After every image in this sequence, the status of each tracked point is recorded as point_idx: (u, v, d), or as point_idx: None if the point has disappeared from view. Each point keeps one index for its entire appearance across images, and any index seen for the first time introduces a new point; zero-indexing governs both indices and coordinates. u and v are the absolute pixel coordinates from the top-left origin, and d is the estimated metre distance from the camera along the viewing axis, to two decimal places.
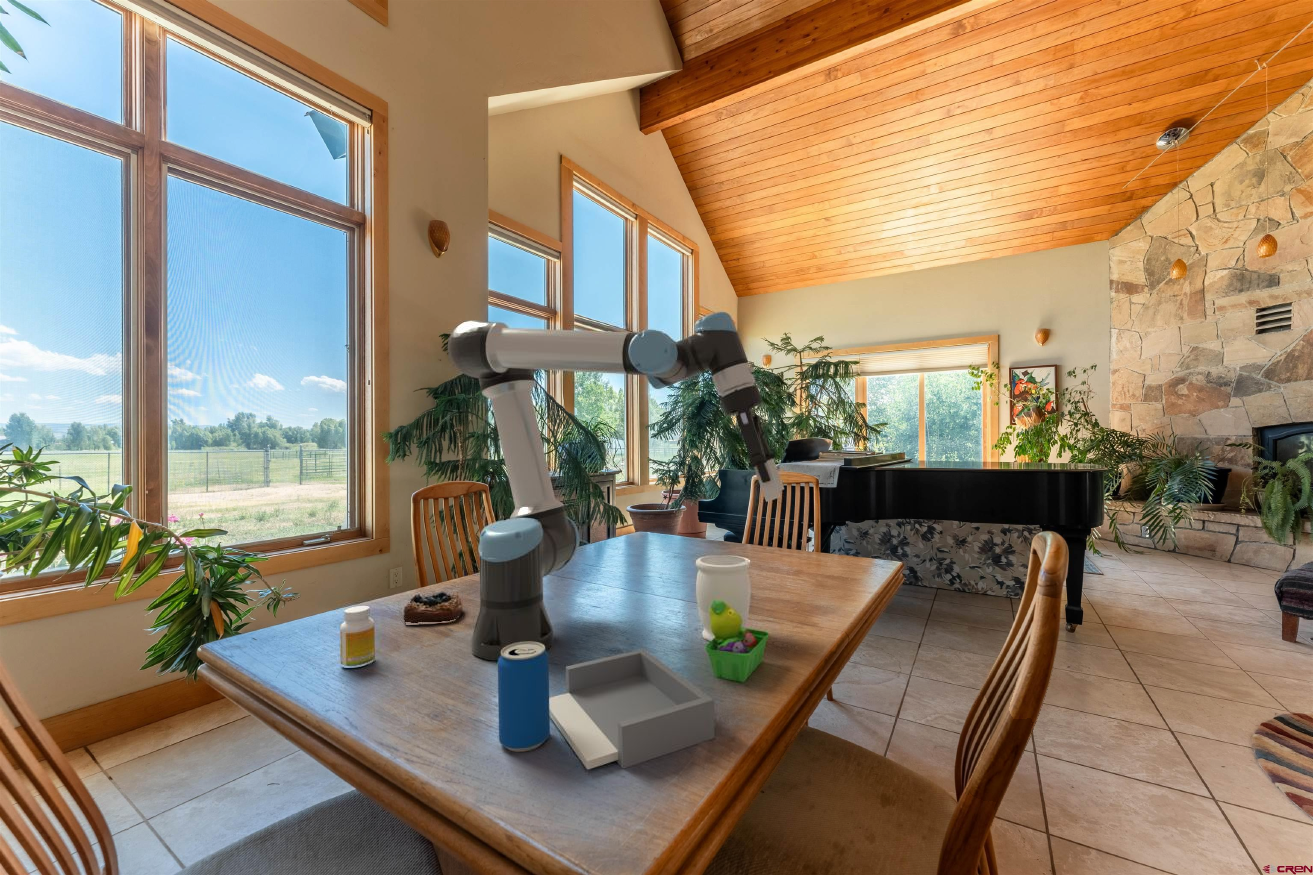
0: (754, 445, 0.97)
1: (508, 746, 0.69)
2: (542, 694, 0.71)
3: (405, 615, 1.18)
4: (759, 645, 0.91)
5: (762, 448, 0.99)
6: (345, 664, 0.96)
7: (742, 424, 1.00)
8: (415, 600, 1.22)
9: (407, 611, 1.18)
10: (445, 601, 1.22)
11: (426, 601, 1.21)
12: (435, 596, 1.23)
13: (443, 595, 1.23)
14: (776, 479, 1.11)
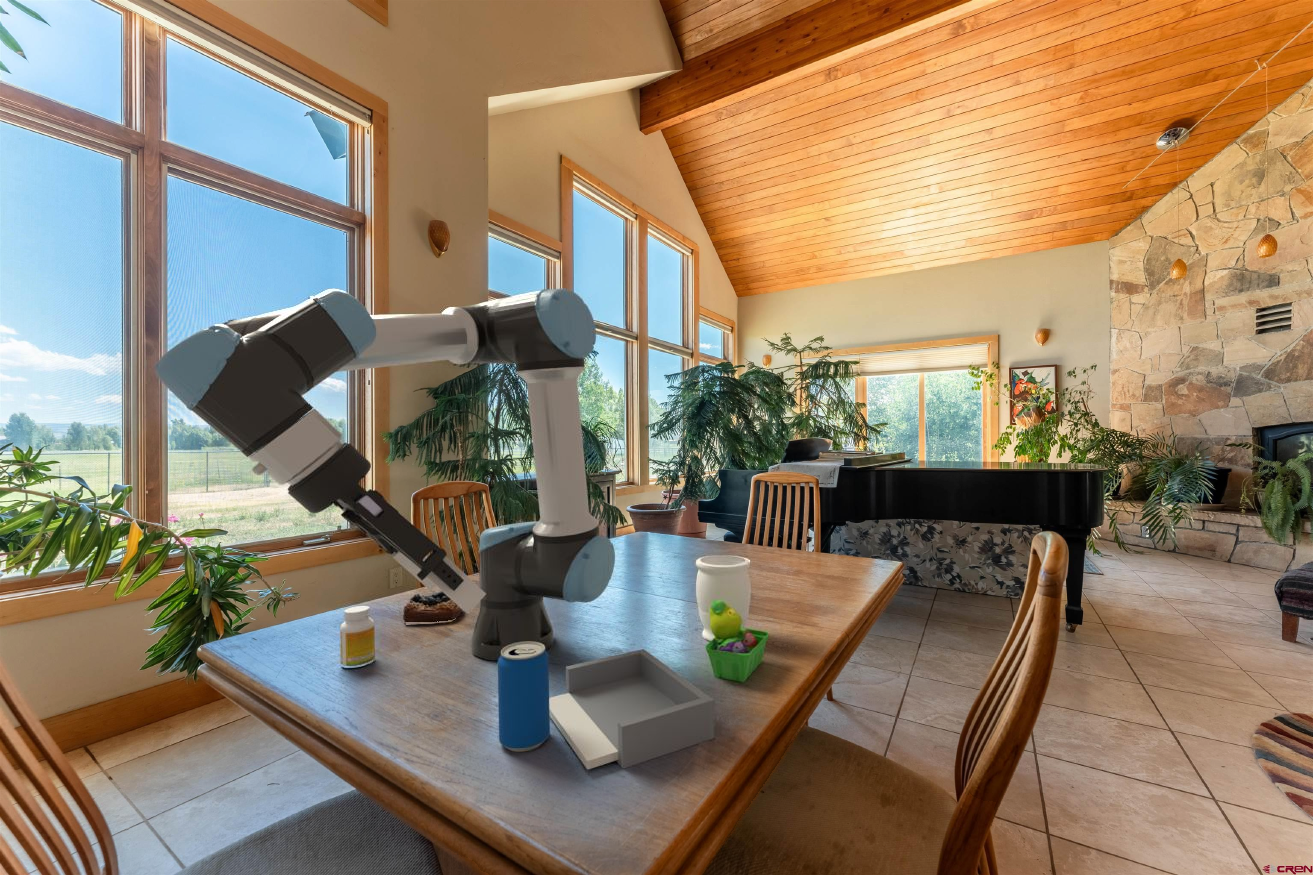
0: None
1: (508, 746, 0.69)
2: (542, 694, 0.71)
3: (405, 615, 1.18)
4: (759, 645, 0.91)
5: (378, 542, 0.67)
6: (345, 664, 0.96)
7: None
8: (415, 600, 1.22)
9: (407, 611, 1.18)
10: (445, 601, 1.22)
11: (426, 601, 1.21)
12: (435, 596, 1.23)
13: (443, 595, 1.23)
14: None
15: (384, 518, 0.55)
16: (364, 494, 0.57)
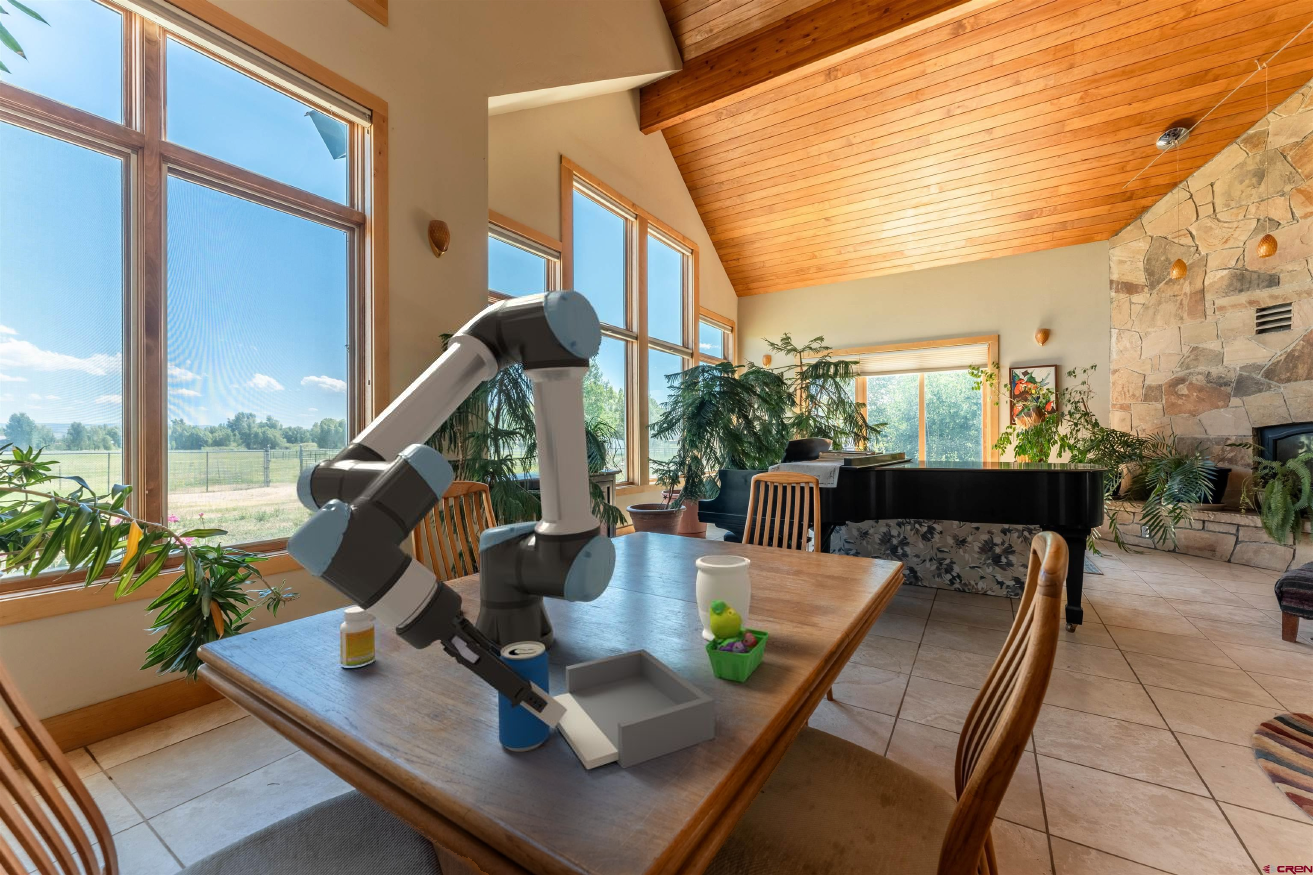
0: None
1: (508, 746, 0.69)
2: None
3: None
4: (759, 645, 0.91)
5: None
6: (345, 664, 0.96)
7: None
8: None
9: None
10: None
11: None
12: None
13: None
14: None
15: (482, 664, 0.64)
16: (460, 636, 0.64)
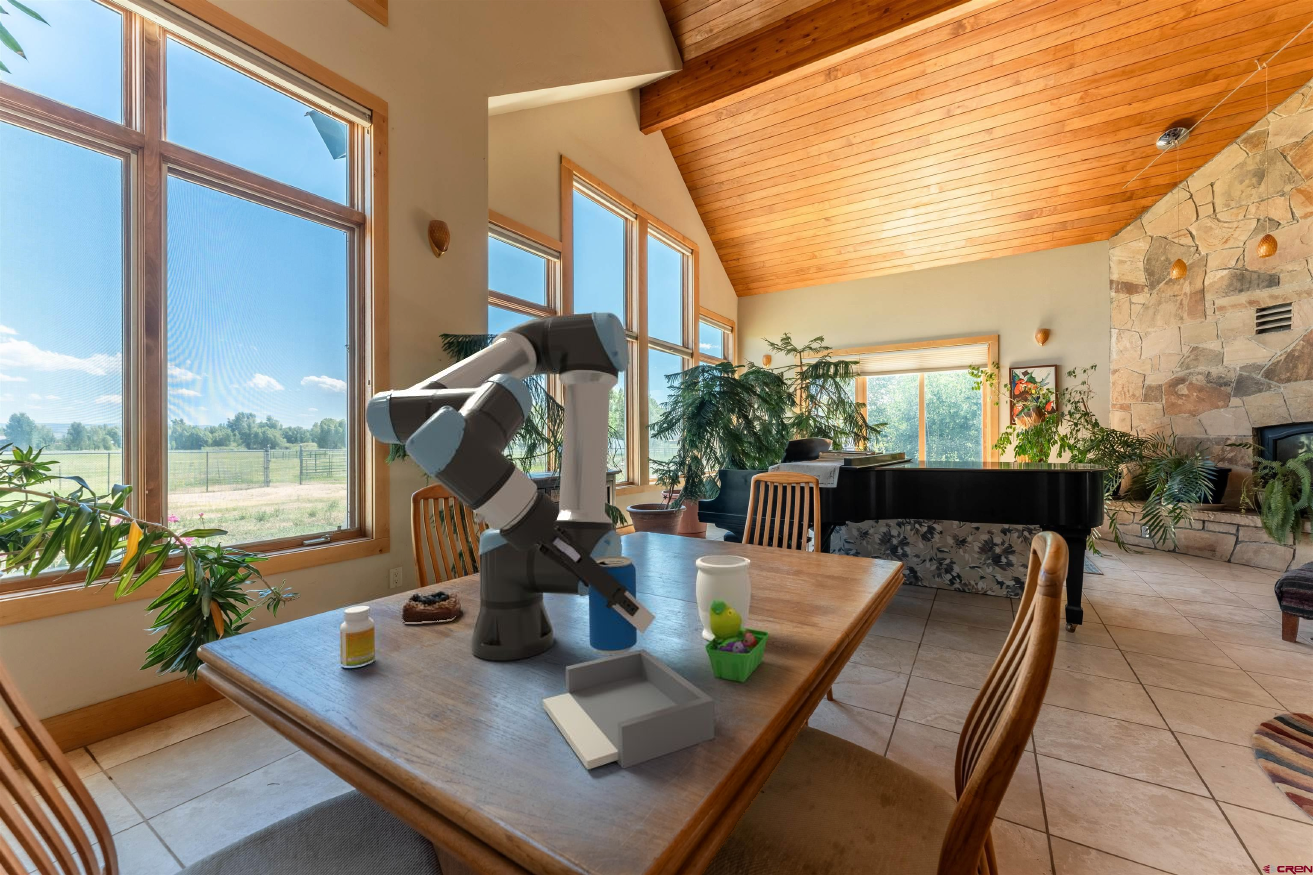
0: None
1: (600, 649, 0.73)
2: None
3: (404, 614, 1.18)
4: (759, 645, 0.91)
5: None
6: (345, 664, 0.96)
7: None
8: (414, 599, 1.22)
9: (406, 610, 1.18)
10: (444, 600, 1.23)
11: (425, 600, 1.21)
12: (434, 595, 1.24)
13: (442, 594, 1.23)
14: None
15: (583, 564, 0.67)
16: (561, 538, 0.68)
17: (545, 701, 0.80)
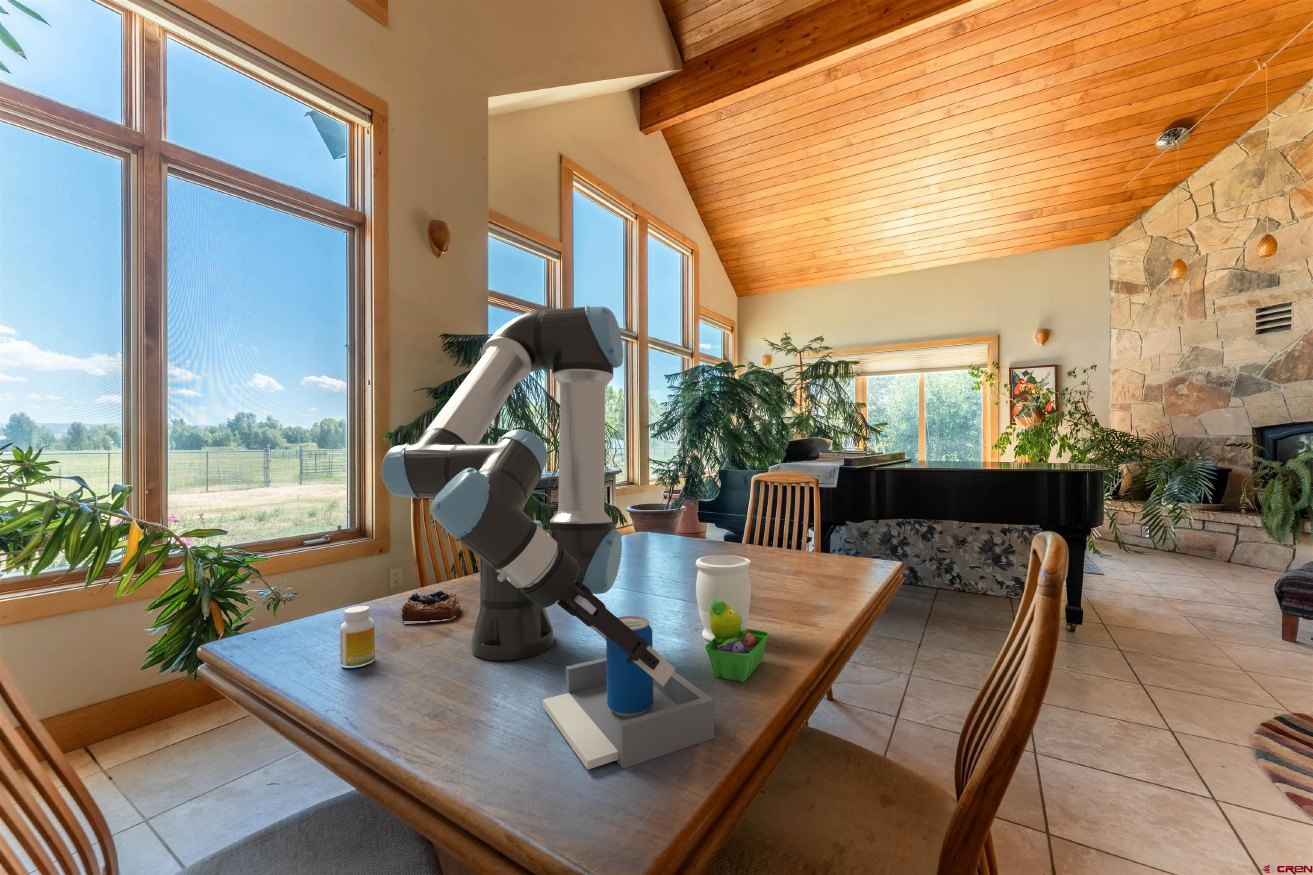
0: None
1: (619, 711, 0.74)
2: None
3: (403, 614, 1.19)
4: (759, 645, 0.91)
5: None
6: (345, 664, 0.96)
7: None
8: (413, 599, 1.23)
9: (405, 610, 1.19)
10: (443, 600, 1.23)
11: (424, 600, 1.22)
12: (433, 595, 1.24)
13: (441, 594, 1.24)
14: None
15: (599, 616, 0.67)
16: (579, 593, 0.70)
17: (545, 701, 0.80)
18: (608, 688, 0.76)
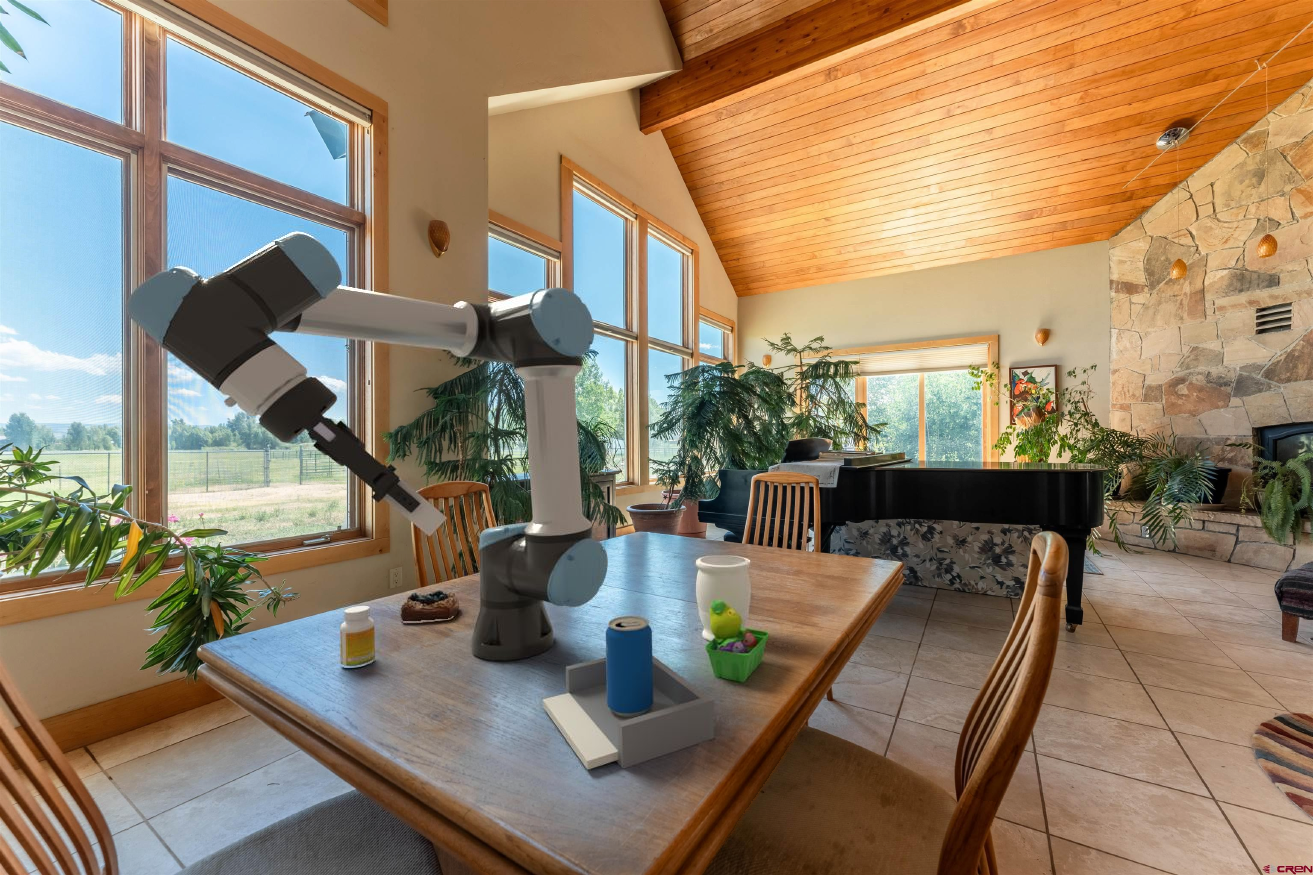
0: None
1: (620, 711, 0.74)
2: (649, 663, 0.76)
3: (402, 613, 1.19)
4: (759, 645, 0.91)
5: None
6: (345, 664, 0.96)
7: None
8: (412, 599, 1.23)
9: (404, 609, 1.19)
10: (442, 599, 1.23)
11: (423, 599, 1.22)
12: (432, 594, 1.24)
13: (440, 593, 1.24)
14: None
15: (337, 443, 0.58)
16: None
17: (545, 701, 0.80)
18: (608, 688, 0.76)
